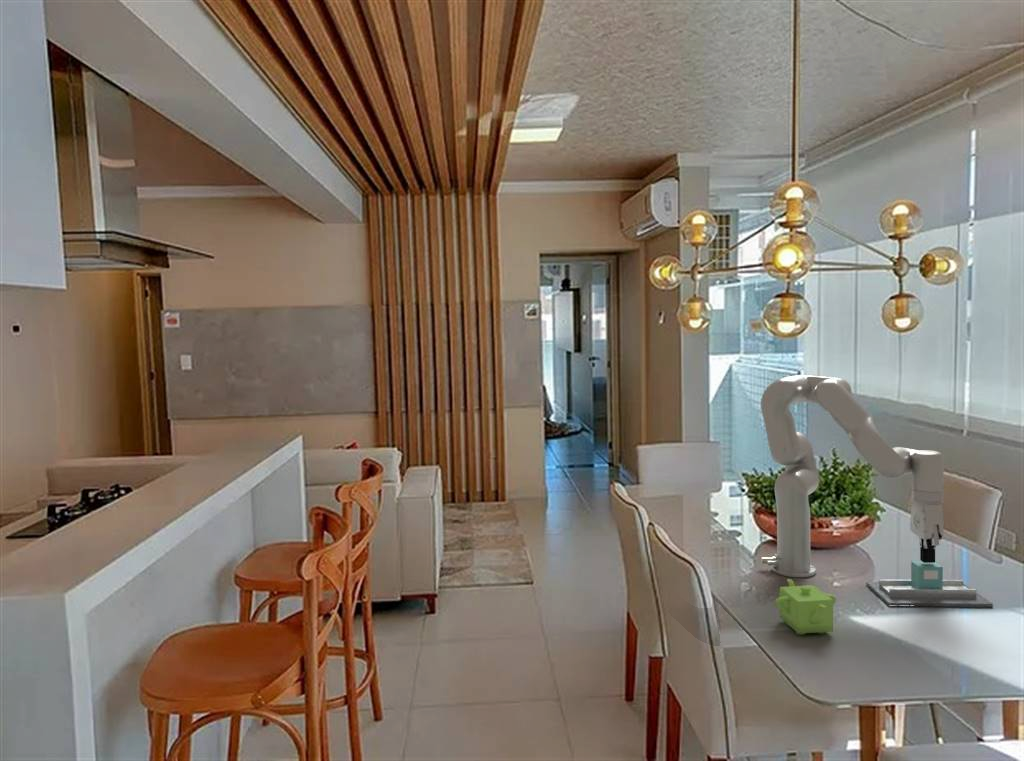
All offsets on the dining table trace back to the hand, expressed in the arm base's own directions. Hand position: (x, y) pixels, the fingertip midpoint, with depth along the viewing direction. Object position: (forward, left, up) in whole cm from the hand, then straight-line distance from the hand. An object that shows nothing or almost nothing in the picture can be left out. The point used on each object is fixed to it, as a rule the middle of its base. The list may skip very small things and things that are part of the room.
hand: (927, 561), depth 199 cm
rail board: (0, 0, -10) cm, 10 cm away
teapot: (-39, -23, -10) cm, 46 cm away
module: (0, 0, -8) cm, 8 cm away
